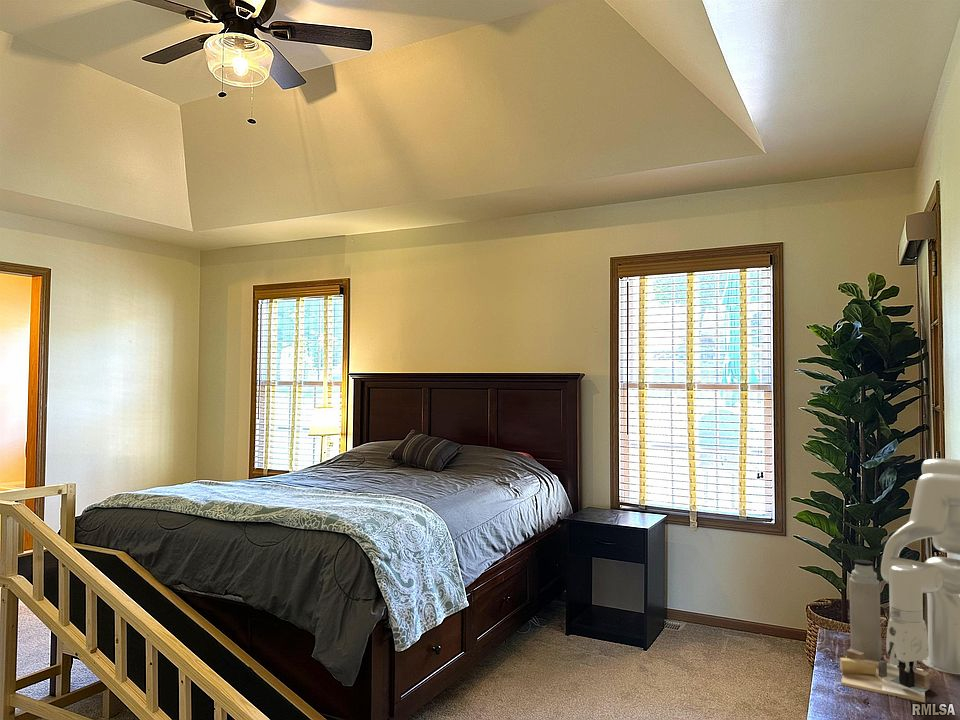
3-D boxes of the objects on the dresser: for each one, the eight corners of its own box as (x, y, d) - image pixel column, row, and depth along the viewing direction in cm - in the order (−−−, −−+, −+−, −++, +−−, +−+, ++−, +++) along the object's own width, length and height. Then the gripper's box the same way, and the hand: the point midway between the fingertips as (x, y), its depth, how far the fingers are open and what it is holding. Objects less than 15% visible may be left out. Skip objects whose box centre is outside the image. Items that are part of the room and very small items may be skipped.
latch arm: (873, 671, 192) (873, 660, 193) (876, 674, 190) (876, 663, 190) (839, 668, 194) (839, 657, 194) (842, 671, 192) (842, 660, 192)
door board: (846, 659, 205) (845, 642, 205) (928, 675, 194) (927, 656, 194) (841, 686, 187) (840, 667, 187) (931, 705, 176) (931, 685, 176)
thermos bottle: (873, 651, 211) (871, 557, 212) (886, 661, 203) (884, 564, 204) (846, 650, 212) (844, 557, 213) (858, 660, 204) (855, 563, 205)
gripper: (897, 622, 177) (898, 695, 176) (940, 615, 182) (941, 687, 181) (872, 612, 184) (872, 683, 183) (913, 607, 189) (914, 675, 188)
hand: (906, 685), depth 182 cm, fingers closed
